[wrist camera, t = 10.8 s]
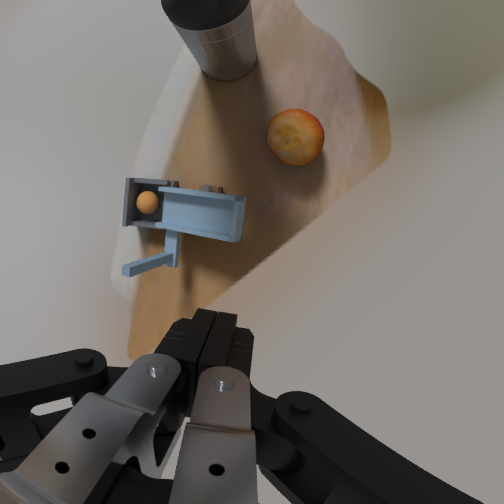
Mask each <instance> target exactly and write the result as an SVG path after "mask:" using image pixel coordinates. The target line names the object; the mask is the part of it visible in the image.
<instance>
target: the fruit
mask: <svg viewBox="0 0 504 504" xmlns="http://www.w3.org/2000/svg"><path fill="white" fill-rule="evenodd" d="M267 144H268V145H269V147H270V149H271V151H272V152H273V153H274V154H275V155H276V156H277V157H278V159H279V160H280V161H281V162H283V163H285V164H287V165H291V166H301V165H305V164H307V163H309V162H311V161H312V160H313V159H315V158H316V157H317V156H318V154H319V153H320V151H321V149H322V147H323V144H324V130H323V127H322V125H321V124H320V122H319V120H318V119H317V118H316V117H315V116H313V115H312V114H310V113H308V112H306V111H304V110H301V109H289V110H286V111H283V112H281V113H279V114H277V115H276V116H275V117H273V118H272V119H271V121H270V124H269V128H268V133H267Z"/></svg>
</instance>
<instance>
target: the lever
mask: <svg viewBox="0 0 504 504" xmlns="http://www.w3.org/2000/svg"><path fill="white" fill-rule="evenodd" d="M158 191H163V192H165V196H164V206H163V217H162V222H155V227H159V228H164V229H166V236H165V250H164V252H163V253H160V254H157V255H154V256H150V257H147V258H144V259H141V260H138V261H135V262H131V263H128V264H125V265H122V275H124V276H127V277H132V276H134V275H137V274H140V273H142V272H145V271H148V270H150V269H153V268H156V267H159V266H161V265H166V266H170V267H174V268H176V267H178V256H179V243H180V232H184V233H189V234H193V235H198V236H203V237H208V238H213V239H218V240H223V241H228V242H233V243H234V242H237V241H240V240H241V236H242V228H243V220H244V213H245V205H246V198H247V197H244V196H237V195H230V194H223V193H215V192H208V191H200V190H192V189H184V188H175V187H159V189H158Z"/></svg>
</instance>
